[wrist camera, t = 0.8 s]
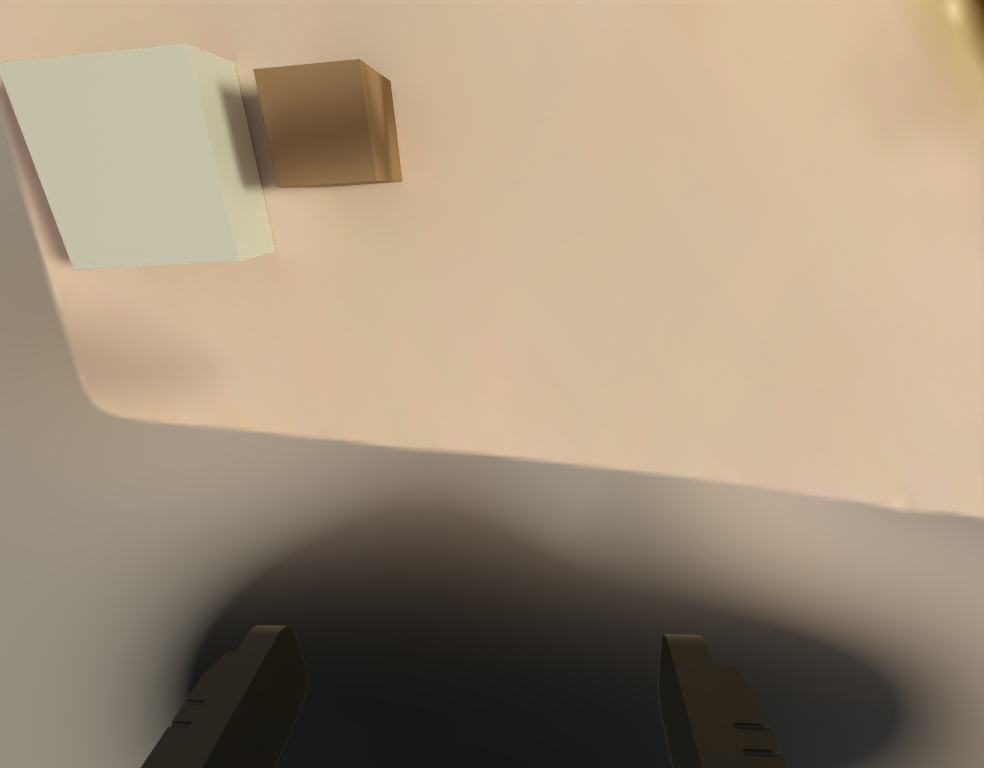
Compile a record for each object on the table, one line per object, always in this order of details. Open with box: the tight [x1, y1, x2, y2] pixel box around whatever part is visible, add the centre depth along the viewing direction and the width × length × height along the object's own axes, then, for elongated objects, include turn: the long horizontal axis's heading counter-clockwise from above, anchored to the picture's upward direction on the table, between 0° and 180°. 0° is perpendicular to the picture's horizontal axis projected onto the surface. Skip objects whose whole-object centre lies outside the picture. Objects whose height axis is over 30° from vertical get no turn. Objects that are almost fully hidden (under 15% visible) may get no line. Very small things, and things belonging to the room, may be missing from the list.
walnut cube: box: [253, 59, 402, 187], centre depth 25 cm, size 5×5×5 cm
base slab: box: [0, 43, 276, 270], centre depth 27 cm, size 10×10×4 cm
